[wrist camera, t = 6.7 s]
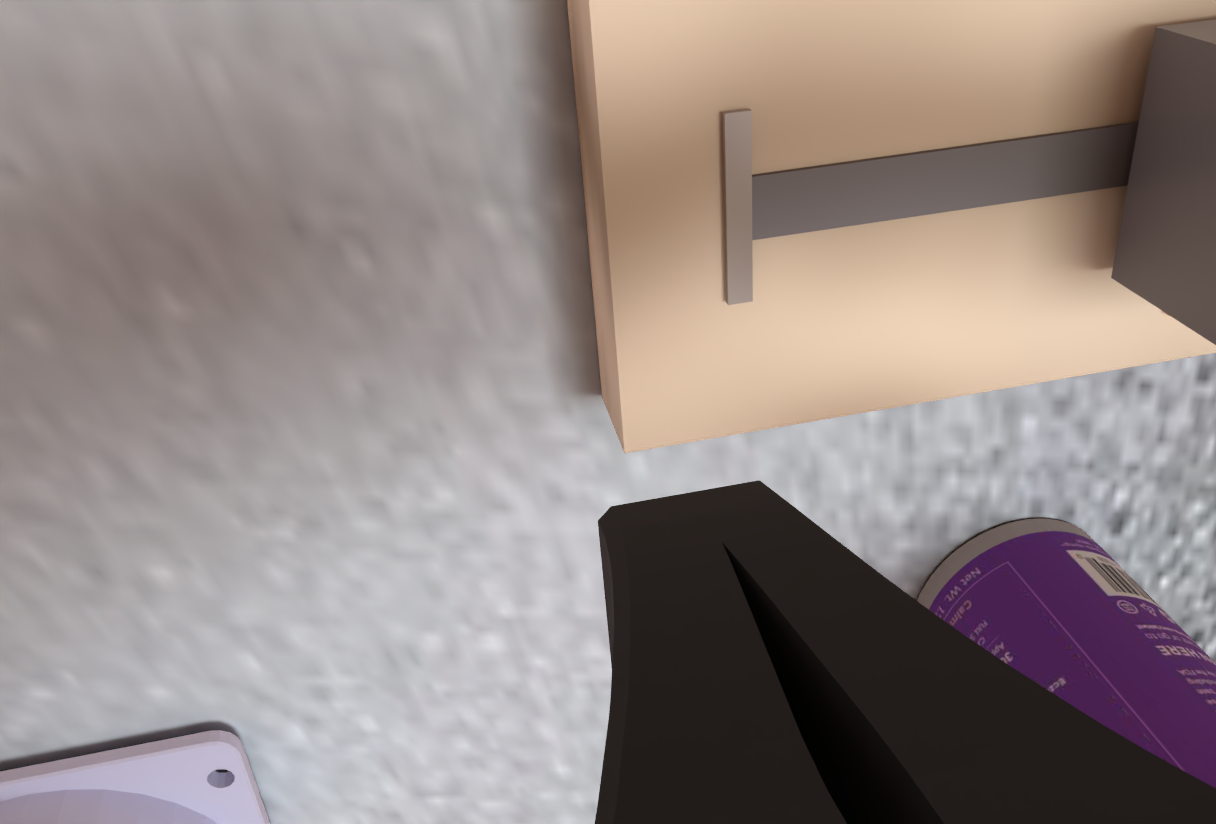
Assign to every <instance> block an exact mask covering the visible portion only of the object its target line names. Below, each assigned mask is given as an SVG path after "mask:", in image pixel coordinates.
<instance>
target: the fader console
mask: <svg viewBox="0 0 1216 824" xmlns="http://www.w3.org/2000/svg"><path fill="white" fill-rule="evenodd" d="M567 7H568V18H569V29H570V40H571V52H572V63H573V74H574V86H575V97H576V108H577V119H578V131H579V142H580V153H581V165H582V176H583V187H584V199H585V210H586V221H587V232H588V244H589V255H590V266H591V278H592V289H593V300H594V312H595V323H596V334H597V345H598V357H599V368H600V379H601V391H602V398H603V400H604V403H605V405H606V408H607V410H608V413H609V415H610V418H611V420H612V423H613V425H614V428H615V430H616V433H617V435H618V438H619V440H620V443H621V445H622V448H623V450H624V453H628V452H634V451H640V450H646V449H652V448H658V447H664V446H669V445H675V444H681V443H687V442H693V441H699V440H705V439H711V438H716V437H722V436H728V435H734V434H740V433H746V432H752V431H758V430H763V429H769V428H775V427H781V426H787V425H793V424H799V423H805V422H810V421H816V420H822V419H828V418H834V417H840V416H846V415H852V414H857V413H863V412H869V411H875V410H881V409H887V408H893V407H899V406H904V405H910V404H916V403H922V402H928V401H934V400H940V399H946V398H951V397H957V396H963V395H969V394H975V393H981V392H987V391H993V390H998V389H1004V388H1010V387H1016V386H1022V385H1028V384H1034V383H1039V382H1045V381H1051V380H1057V379H1063V378H1069V377H1075V376H1081V375H1086V374H1092V373H1098V372H1104V371H1110V370H1116V369H1122V368H1128V367H1133V366H1139V365H1145V364H1151V363H1157V362H1163V361H1169V360H1175V359H1180V358H1186V357H1192V356H1198V355H1204V354H1210V353H1216V345H1215V344H1213V343H1211V342H1210V341H1208V340H1207V339H1205V338H1204V337H1202V336H1201V335H1199V334H1198V333H1196V332H1194V331H1193V330H1191V329H1190V328H1188V327H1187V326H1185V325H1184V324H1182V323H1180V322H1179V321H1177V320H1176V319H1174V318H1173V317H1171V316H1170V315H1168V314H1166V313H1165V312H1163V311H1162V310H1160V309H1159V308H1157V307H1156V306H1154V305H1153V304H1151V303H1149V302H1148V301H1146V300H1145V299H1143V298H1142V297H1140V296H1139V295H1137V294H1135V293H1134V292H1132V291H1131V290H1129V289H1128V288H1126V287H1125V286H1123V285H1121V284H1120V283H1118V282H1117V281H1115V280H1114V279H1112V278H1111V276H1112V270H1113V264H1114V259H1115V253H1116V247H1117V242H1118V236H1119V231H1120V225H1121V219H1122V214H1123V208H1124V202H1125V197H1126V191H1127V186H1128V180H1129V174H1130V169H1131V163H1132V157H1133V152H1134V146H1135V141H1136V135H1137V129H1138V124H1139V118H1140V113H1141V107H1142V101H1143V96H1144V90H1145V84H1146V79H1147V73H1148V68H1149V62H1150V56H1151V51H1152V45H1153V39H1154V34H1155V28H1156V27H1158V26H1166V25H1174V24H1182V23H1190V22H1197V21H1205V20H1213V19H1216V0H567Z"/></svg>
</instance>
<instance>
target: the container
mask: <svg viewBox="0 0 1216 824" xmlns="http://www.w3.org/2000/svg"><path fill="white" fill-rule="evenodd" d="M917 601H918V602H919V603H920V604H922V605H923V606H925V607H926V608H927V609H929V610H930V611H932V612H933V613H934V614H936V615H937V616H939V617H940V618H941V619H943V620H944V621H946V622H947V623H948V624H950V625H951V626H953V627H954V628H955V629H957V630H958V631H960V632H961V633H962V634H964V635H965V636H967V637H968V638H970V639H971V640H973V641H974V642H975V643H977V644H978V645H980V646H981V647H983V648H984V649H986V650H987V651H989V652H990V653H992V654H993V655H995V656H996V657H998V658H999V659H1001V660H1002V661H1003V662H1005V663H1006V664H1008V665H1009V666H1011V667H1013V668H1014V669H1016V670H1017V671H1019V672H1020V673H1022V674H1024V675H1025V676H1027V677H1028V678H1030V679H1031V680H1033V681H1035V682H1036V683H1038V684H1039V685H1041V686H1042V687H1044V688H1046V689H1047V690H1049V691H1050V692H1052V693H1053V694H1055V695H1057V696H1058V697H1060V698H1061V699H1063V700H1064V701H1066V702H1068V703H1069V704H1071V705H1072V706H1074V707H1075V708H1077V709H1079V710H1080V711H1082V712H1083V713H1085V714H1086V715H1088V716H1090V717H1091V718H1093V719H1094V720H1096V721H1098V722H1099V723H1101V724H1103V725H1104V726H1106V727H1108V728H1109V729H1111V730H1113V731H1115V732H1116V733H1118V734H1120V735H1121V736H1123V737H1125V738H1126V739H1128V740H1130V741H1131V742H1133V743H1135V744H1137V745H1138V746H1140V747H1142V748H1143V749H1145V750H1147V751H1149V752H1150V753H1152V754H1154V755H1156V756H1158V757H1159V758H1161V759H1163V760H1165V761H1167V762H1169V763H1170V764H1172V765H1174V766H1176V767H1178V768H1179V769H1181V770H1183V771H1185V772H1187V773H1189V774H1190V775H1192V776H1194V777H1196V778H1198V779H1199V780H1201V781H1203V782H1205V783H1207V784H1209V785H1210V786H1212V787H1214V788H1216V663H1215V662H1214V661H1213V660H1212V659H1211V658H1210V657H1209V656H1208V655H1207V654H1206V653H1205V652H1204V651H1203V650H1202V649H1201V648H1200V647H1199V646H1198V645H1197V644H1196V643H1195V642H1194V641H1193V640H1192V639H1191V638H1190V637H1189V636H1188V635H1187V634H1186V633H1185V632H1184V631H1183V630H1182V629H1181V628H1180V627H1179V626H1178V625H1177V624H1176V623H1175V622H1174V621H1173V620H1172V619H1171V618H1170V617H1169V616H1168V615H1167V614H1166V613H1165V612H1164V610H1163V609H1162V608H1161V607H1160V606H1159V605H1158V604H1157V603H1156V602H1155V601H1154V600H1153V599H1152V598H1151V597H1150V596H1149V595H1148V594H1147V593H1146V592H1145V591H1144V590H1143V589H1142V588H1141V587H1140V586H1139V585H1138V584H1137V583H1136V582H1135V581H1134V580H1133V579H1132V578H1131V577H1130V576H1129V575H1128V574H1127V573H1126V572H1125V571H1124V570H1123V569H1122V568H1121V567H1120V566H1119V565H1118V564H1117V563H1116V562H1115V561H1114V560H1113V559H1112V558H1111V557H1110V556H1109V555H1108V554H1107V553H1106V552H1105V551H1104V550H1103V549H1102V548H1101V547H1100V546H1099V545H1098V544H1097V543H1096V542H1095V541H1094V540H1093V539H1092V538H1091V537H1090V536H1089V535H1088V534H1086V533H1085V532H1084V531H1083V530H1081V529H1080V528H1078V527H1076V526H1074V525H1072V524H1070V523H1067V522H1063V521H1059V520H1054V519H1044V518H1043V519H1026V520H1020V521H1015V522H1011V523H1007V524H1004V525H1001V526H998V527H996V528H993V529H991V530H988V531H986V532H984V533H982V534H980V535H979V536H977V537H975V538H973V539H971V540H970V541H968V542H967V543H965V544H964V545H963V546H961V547H960V548H958V549H957V550H956V551H955V552H953V553H952V554H951V555H950V556H949V557H948V558H947V559H945V560H944V561H943V563H942V564H941V565H940V566H939V567H938V568H937V569H936V570H935V572H934V573H933V574H932V575H931V576H930V578H929V580H928V581H927V583H926V584H925V586H924V588H923V589H922V591H921V593H920V595H919V597H918V599H917Z"/></svg>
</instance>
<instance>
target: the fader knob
mask: <svg viewBox="0 0 1216 824" xmlns="http://www.w3.org/2000/svg"><path fill="white" fill-rule="evenodd" d="M1111 278H1112V279H1114V280H1115V281H1117V282H1118V283H1120V284H1121V285H1123V286H1125V287H1126V288H1128V289H1129V290H1131V291H1132V292H1134V293H1135V294H1137V295H1139V296H1140V297H1142V298H1143V299H1145V300H1146V301H1148V302H1149V303H1151V304H1153V305H1154V306H1156V307H1157V308H1159V309H1160V310H1162V311H1163V312H1165V313H1166V314H1168V315H1170V316H1171V317H1173V318H1174V319H1176V320H1177V321H1179V322H1180V323H1182V324H1184V325H1185V326H1187V327H1188V328H1190V329H1191V330H1193V331H1194V332H1196V333H1198V334H1199V335H1201V336H1202V337H1204V338H1205V339H1207V340H1208V341H1210V342H1211V343H1213V344H1215V345H1216V19H1213V20H1205V21H1197V22H1190V23H1182V24H1174V25H1166V26H1158V27H1156V28H1155V34H1154V39H1153V45H1152V51H1151V56H1150V62H1149V68H1148V73H1147V79H1146V84H1145V90H1144V96H1143V101H1142V107H1141V113H1140V118H1139V124H1138V129H1137V135H1136V141H1135V146H1134V152H1133V157H1132V163H1131V169H1130V174H1129V180H1128V186H1127V191H1126V197H1125V202H1124V208H1123V214H1122V219H1121V225H1120V231H1119V236H1118V242H1117V247H1116V253H1115V259H1114V264H1113V270H1112V276H1111Z"/></svg>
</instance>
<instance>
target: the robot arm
mask: <svg viewBox="0 0 1216 824" xmlns="http://www.w3.org/2000/svg"><path fill="white" fill-rule="evenodd" d="M598 526H599V537H600V548H601V558H602V569H603V579H604V590H605V600H606V611H607V621H608V632H609V642H610V653H611V663H612V686H611V702H610V713H609V722H608V730H607V738H606V745H605V753H604V761H603V769H602V776H601V784H600V792H599V800H598V807H597V813H596V820H595V824H1216V788H1214V787H1212V786H1210V785H1209V784H1207V783H1205V782H1203V781H1201V780H1199V779H1198V778H1196V777H1194V776H1192V775H1190V774H1189V773H1187V772H1185V771H1183V770H1181V769H1179V768H1178V767H1176V766H1174V765H1172V764H1170V763H1169V762H1167V761H1165V760H1163V759H1161V758H1159V757H1158V756H1156V755H1154V754H1152V753H1150V752H1149V751H1147V750H1145V749H1143V748H1142V747H1140V746H1138V745H1137V744H1135V743H1133V742H1131V741H1130V740H1128V739H1126V738H1125V737H1123V736H1121V735H1120V734H1118V733H1116V732H1115V731H1113V730H1111V729H1109V728H1108V727H1106V726H1104V725H1103V724H1101V723H1099V722H1098V721H1096V720H1094V719H1093V718H1091V717H1090V716H1088V715H1086V714H1085V713H1083V712H1082V711H1080V710H1079V709H1077V708H1075V707H1074V706H1072V705H1071V704H1069V703H1068V702H1066V701H1064V700H1063V699H1061V698H1060V697H1058V696H1057V695H1055V694H1053V693H1052V692H1050V691H1049V690H1047V689H1046V688H1044V687H1042V686H1041V685H1039V684H1038V683H1036V682H1035V681H1033V680H1031V679H1030V678H1028V677H1027V676H1025V675H1024V674H1022V673H1020V672H1019V671H1017V670H1016V669H1014V668H1013V667H1011V666H1009V665H1008V664H1006V663H1005V662H1003V661H1002V660H1001V659H999V658H998V657H996V656H995V655H993V654H992V653H990V652H989V651H987V650H986V649H984V648H983V647H981V646H980V645H978V644H977V643H975V642H974V641H973V640H971V639H970V638H968V637H967V636H965V635H964V634H962V633H961V632H960V631H958V630H957V629H955V628H954V627H953V626H951V625H950V624H948V623H947V622H946V621H944V620H943V619H941V618H940V617H939V616H937V615H936V614H934V613H933V612H932V611H930V610H929V609H927V608H926V607H925V606H923V605H922V604H920V603H919V602H918V601H916V600H915V599H914V598H912V597H911V596H909V595H908V594H907V593H905V592H904V591H903V590H901V589H900V588H899V587H897V586H896V585H895V584H893V583H892V582H891V581H889V580H888V579H887V578H885V577H884V576H883V575H881V574H880V573H879V572H877V571H876V570H875V569H873V568H872V567H871V566H869V565H868V564H867V563H865V562H864V561H863V560H862V559H860V558H859V557H858V556H856V555H855V554H854V553H852V552H851V551H850V550H849V549H847V548H846V547H845V546H843V545H842V544H841V543H839V542H838V541H837V540H836V539H834V538H833V537H832V536H831V535H829V534H828V533H827V532H825V531H824V530H823V529H822V528H820V527H819V526H818V525H816V524H815V523H814V522H813V521H811V520H810V519H809V518H807V517H806V516H805V515H804V514H802V513H801V512H800V511H798V510H797V509H796V508H795V507H793V506H792V505H791V504H789V503H788V502H787V501H786V500H784V499H783V498H782V497H780V496H779V495H778V494H776V493H775V492H774V491H773V490H771V489H770V488H769V487H767V486H766V485H765V484H763V483H762V482H761V481H754V482H748V483H742V484H737V485H731V486H725V487H719V488H714V489H708V490H702V491H697V492H691V493H685V494H680V495H674V496H668V497H663V498H657V499H651V500H646V501H640V502H634V503H628V504H623V505H617V506H611V507H610V508H609V509H608V511H607V512H606V513H605V514H604V515H603V516H602V517H601V518H600V519H599V520H598ZM217 769H225V770H228V771H229V772H227V773H219V772H216V771H215V770H217ZM0 824H270V822H269V819H268V816H267V813H266V810H265V808H264V805H263V802H262V799H261V796H260V793H259V790H258V788H257V785H256V782H255V779H254V776H253V773H252V771H251V768H250V765H249V762H248V759H247V756H246V754H245V751H244V748H243V745H242V743H241V741H240V740H239V738H238V737H237V736H235V735H234V734H232V733H230V732H226V731H222V730H213V731H206V732H201V733H196V734H191V735H185V736H180V737H175V738H170V739H165V740H160V741H155V742H149V743H144V744H139V745H134V746H129V747H124V748H119V749H113V750H108V751H103V752H98V753H93V754H88V755H83V756H77V757H72V758H67V759H62V760H57V761H52V762H47V763H42V764H36V765H31V766H26V767H21V768H16V769H11V770H6V771H0Z"/></svg>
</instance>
